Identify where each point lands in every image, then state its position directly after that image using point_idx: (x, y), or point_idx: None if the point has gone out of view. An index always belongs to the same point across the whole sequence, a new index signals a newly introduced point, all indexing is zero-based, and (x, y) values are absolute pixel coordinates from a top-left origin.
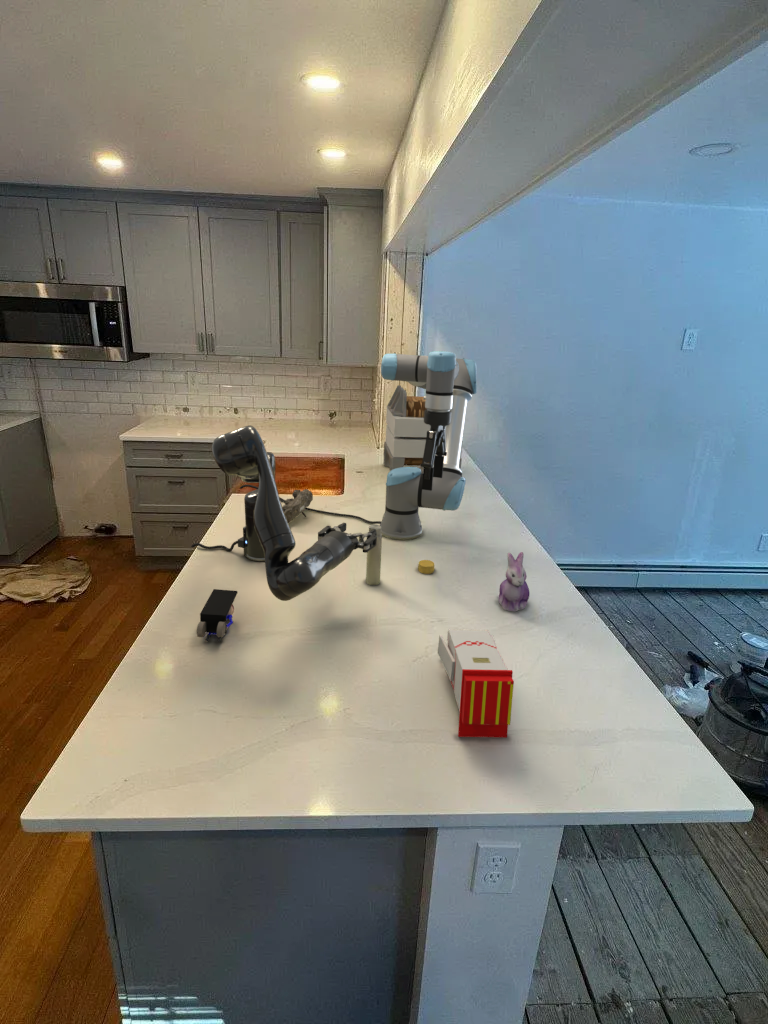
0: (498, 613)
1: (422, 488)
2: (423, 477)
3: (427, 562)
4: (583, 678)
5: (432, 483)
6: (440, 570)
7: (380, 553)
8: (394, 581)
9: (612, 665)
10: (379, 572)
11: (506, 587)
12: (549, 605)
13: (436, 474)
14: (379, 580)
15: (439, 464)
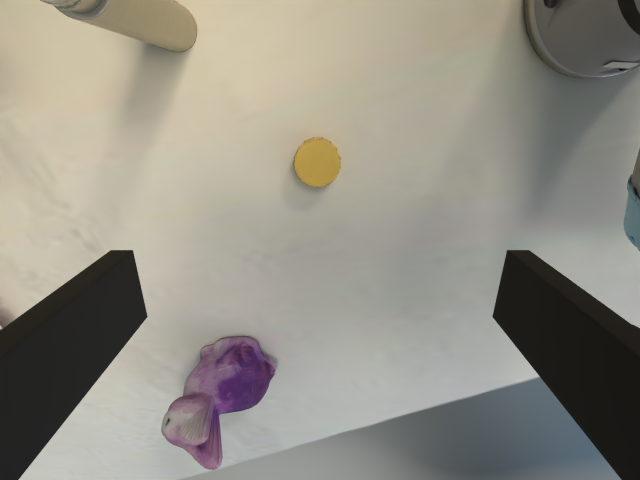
0: (184, 340)
1: (106, 256)
2: (36, 312)
3: (323, 165)
4: (66, 449)
5: (115, 351)
6: (333, 196)
7: (126, 35)
8: (212, 92)
9: (123, 477)
10: (159, 46)
11: (189, 382)
12: (262, 410)
13: (513, 289)
14: (173, 50)
15: (574, 375)
